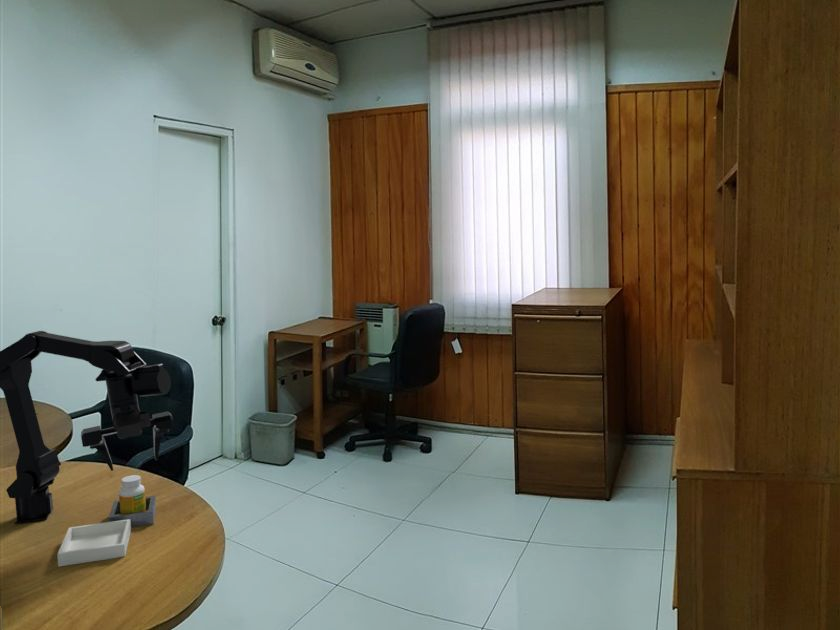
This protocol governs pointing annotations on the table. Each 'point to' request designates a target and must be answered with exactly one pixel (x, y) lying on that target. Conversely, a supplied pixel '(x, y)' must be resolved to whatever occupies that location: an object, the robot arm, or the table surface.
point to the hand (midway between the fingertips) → (134, 464)
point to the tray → (94, 542)
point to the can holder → (135, 513)
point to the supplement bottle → (132, 495)
